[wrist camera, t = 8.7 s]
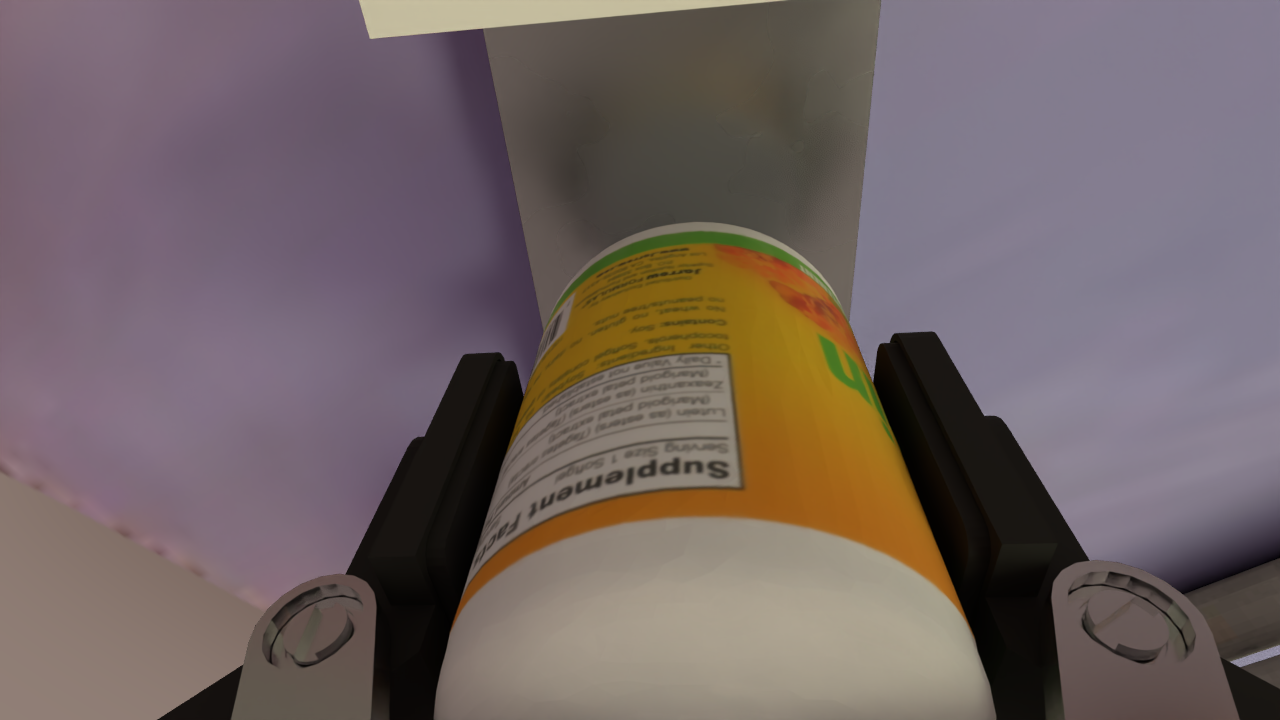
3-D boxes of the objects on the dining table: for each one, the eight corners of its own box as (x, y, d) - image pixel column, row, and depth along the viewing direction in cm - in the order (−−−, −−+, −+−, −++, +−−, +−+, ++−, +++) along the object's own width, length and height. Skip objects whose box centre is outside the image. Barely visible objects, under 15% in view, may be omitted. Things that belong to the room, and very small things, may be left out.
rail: (917, -612, 9) (948, -678, 8) (814, 578, 22) (820, 610, 21) (396, -523, 9) (362, -573, 8) (603, 581, 23) (599, 613, 22)
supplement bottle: (875, 420, 13) (1190, 1269, 5) (617, 488, 14) (539, 1239, 6) (801, 162, 10) (1239, 1123, 2) (492, 276, 12) (75, 1129, 4)
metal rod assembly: (1671, 370, 17) (1999, 529, 12) (1682, 434, 18) (1987, 600, 13) (805, 715, 27) (827, 860, 23) (844, 742, 28) (872, 885, 24)
